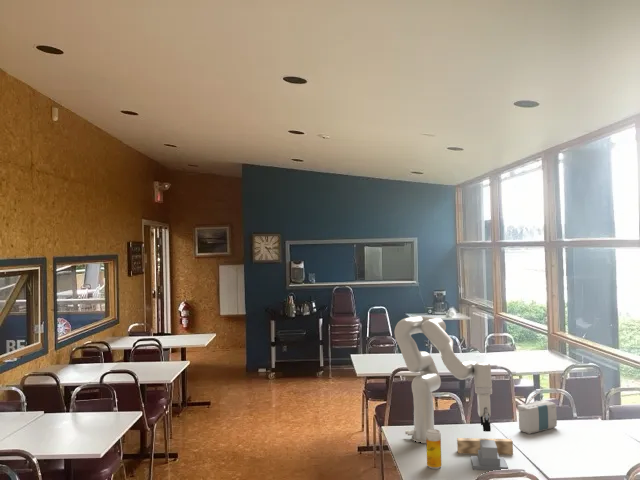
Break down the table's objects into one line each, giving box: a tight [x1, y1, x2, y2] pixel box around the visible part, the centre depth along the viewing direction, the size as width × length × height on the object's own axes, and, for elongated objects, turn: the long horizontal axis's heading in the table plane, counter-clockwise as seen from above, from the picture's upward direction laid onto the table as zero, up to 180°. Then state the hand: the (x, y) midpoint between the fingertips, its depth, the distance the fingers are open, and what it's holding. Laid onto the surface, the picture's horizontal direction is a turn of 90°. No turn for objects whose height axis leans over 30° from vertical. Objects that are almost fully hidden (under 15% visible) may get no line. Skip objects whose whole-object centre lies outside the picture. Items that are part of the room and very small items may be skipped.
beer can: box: [425, 428, 442, 470], centre depth 238 cm, size 6×6×15 cm
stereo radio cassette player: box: [517, 388, 558, 435], centre depth 287 cm, size 21×8×20 cm, turn 119°
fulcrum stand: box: [470, 440, 509, 471], centre depth 238 cm, size 14×12×9 cm
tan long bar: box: [456, 437, 514, 455], centre depth 254 cm, size 24×4×6 cm, turn 84°
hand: (485, 428), depth 254 cm, fingers open, 9 cm apart
